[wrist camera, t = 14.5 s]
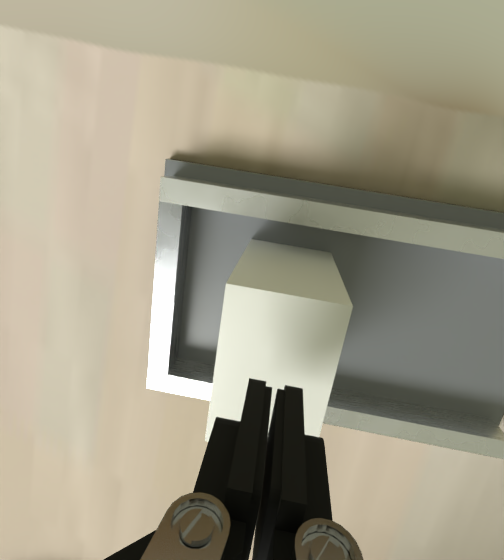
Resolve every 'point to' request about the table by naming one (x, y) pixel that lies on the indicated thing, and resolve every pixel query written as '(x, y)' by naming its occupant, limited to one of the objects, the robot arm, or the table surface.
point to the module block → (280, 330)
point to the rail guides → (327, 215)
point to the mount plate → (367, 294)
